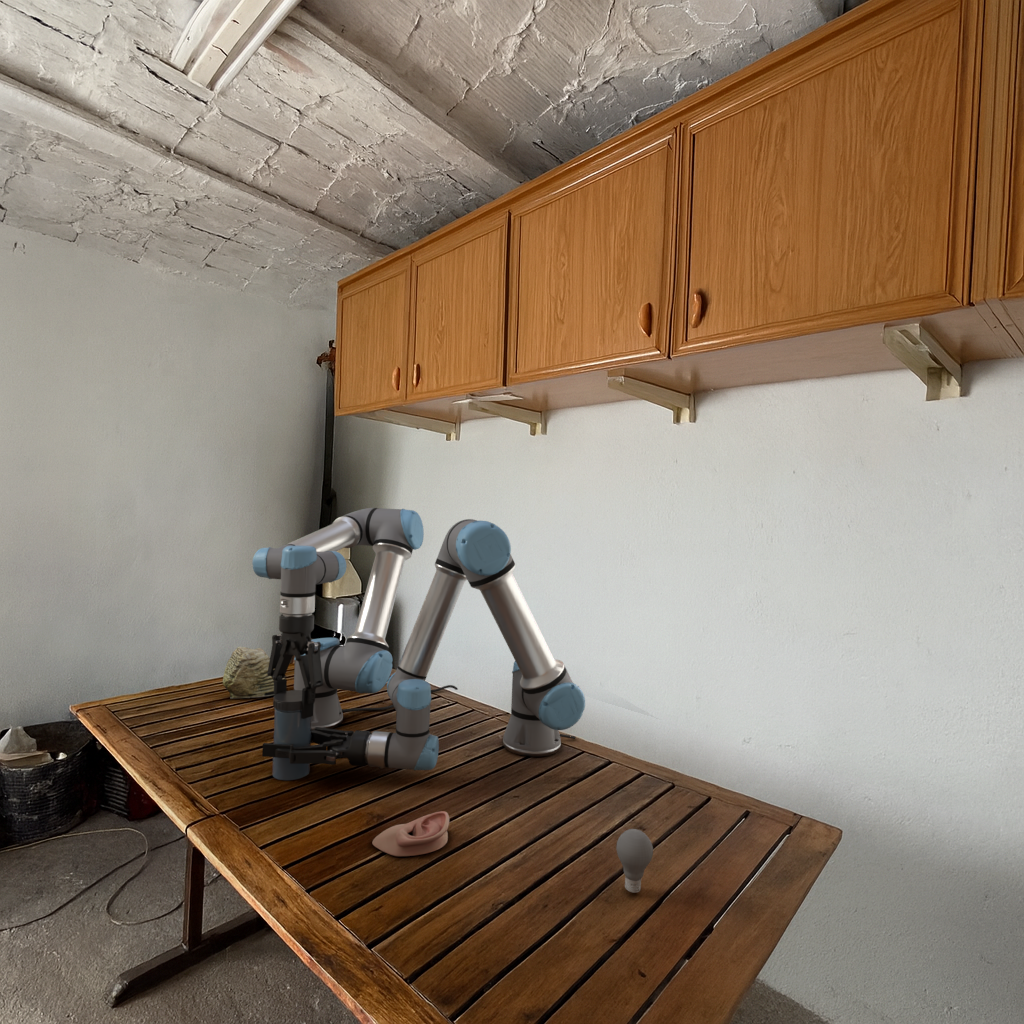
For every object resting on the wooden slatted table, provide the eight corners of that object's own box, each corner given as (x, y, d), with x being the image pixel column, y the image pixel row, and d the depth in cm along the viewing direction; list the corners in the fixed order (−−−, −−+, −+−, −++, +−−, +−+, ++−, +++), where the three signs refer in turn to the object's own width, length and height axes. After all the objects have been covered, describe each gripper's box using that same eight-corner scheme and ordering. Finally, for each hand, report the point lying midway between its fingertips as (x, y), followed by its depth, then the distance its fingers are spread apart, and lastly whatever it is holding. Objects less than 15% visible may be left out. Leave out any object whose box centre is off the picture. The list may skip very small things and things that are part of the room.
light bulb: (610, 879, 108) (613, 822, 108) (644, 879, 109) (647, 822, 109) (619, 902, 102) (622, 840, 102) (655, 901, 103) (658, 840, 103)
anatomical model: (365, 829, 114) (390, 800, 125) (364, 851, 114) (389, 820, 125) (436, 840, 111) (455, 810, 122) (435, 863, 111) (454, 830, 122)
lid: (317, 698, 149) (318, 690, 149) (308, 711, 140) (309, 702, 140) (279, 698, 148) (279, 689, 148) (268, 710, 140) (268, 701, 140)
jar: (284, 783, 139) (287, 707, 139) (265, 772, 144) (267, 699, 144) (316, 772, 145) (319, 699, 145) (296, 762, 150) (299, 691, 150)
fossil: (218, 695, 195) (220, 647, 195) (278, 685, 208) (279, 640, 207) (228, 703, 189) (230, 653, 188) (289, 692, 201) (290, 645, 201)
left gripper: (252, 609, 146) (249, 706, 147) (316, 622, 135) (312, 727, 136) (279, 606, 153) (276, 699, 153) (342, 618, 142) (338, 718, 142)
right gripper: (354, 785, 133) (249, 778, 134) (381, 747, 154) (289, 741, 155) (356, 750, 133) (250, 743, 134) (382, 716, 154) (291, 710, 155)
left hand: (293, 712), depth 144 cm, fingers closed on lid, 9 cm apart
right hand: (271, 742), depth 145 cm, fingers closed on jar, 8 cm apart
